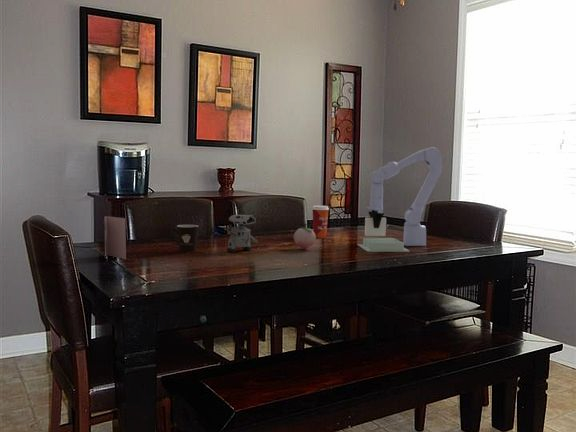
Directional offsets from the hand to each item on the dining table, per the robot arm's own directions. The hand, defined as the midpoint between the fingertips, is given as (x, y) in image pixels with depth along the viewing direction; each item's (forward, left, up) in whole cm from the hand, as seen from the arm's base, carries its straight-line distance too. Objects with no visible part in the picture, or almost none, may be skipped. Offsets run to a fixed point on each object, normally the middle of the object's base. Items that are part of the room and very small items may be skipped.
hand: (375, 227), depth 247 cm
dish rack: (0, +13, -7) cm, 15 cm away
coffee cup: (+22, -19, -7) cm, 30 cm away
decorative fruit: (+34, +16, -7) cm, 38 cm away
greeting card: (+107, +36, -7) cm, 113 cm away
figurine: (+60, +22, -8) cm, 64 cm away
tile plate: (0, 0, -4) cm, 4 cm away
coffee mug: (+83, +19, -7) cm, 86 cm away
